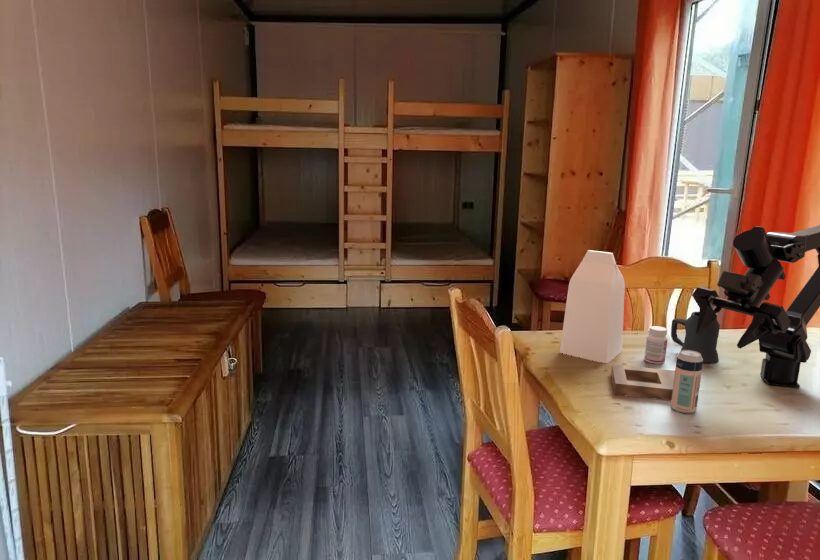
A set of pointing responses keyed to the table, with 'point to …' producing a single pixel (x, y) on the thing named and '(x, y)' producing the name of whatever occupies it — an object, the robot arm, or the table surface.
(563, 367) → the table surface
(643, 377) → the socket board
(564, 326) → the milk
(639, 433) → the table surface
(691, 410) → the beer can
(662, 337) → the pill bottle
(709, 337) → the mug
